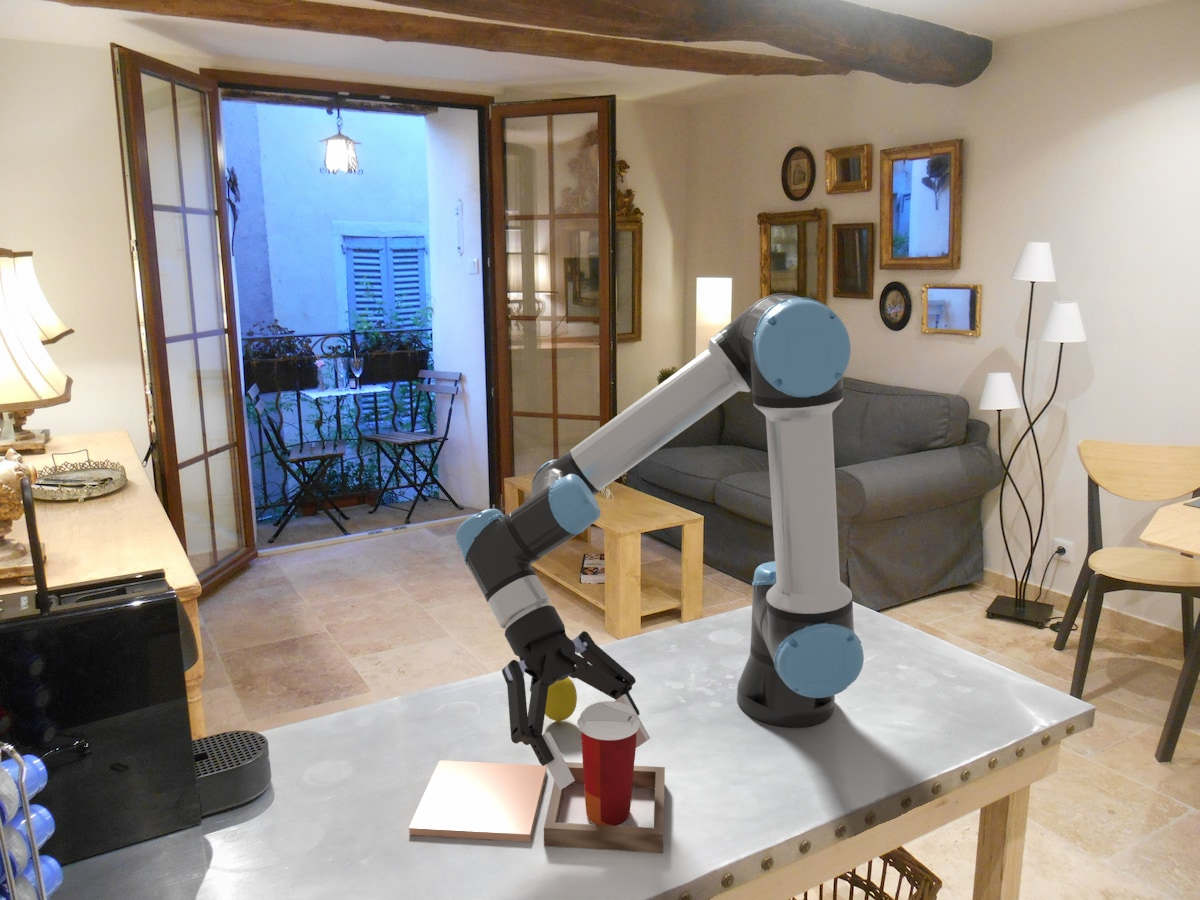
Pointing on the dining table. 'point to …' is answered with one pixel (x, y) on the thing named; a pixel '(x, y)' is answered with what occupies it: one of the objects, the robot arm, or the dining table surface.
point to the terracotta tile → (480, 801)
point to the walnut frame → (606, 834)
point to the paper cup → (608, 760)
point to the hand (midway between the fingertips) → (606, 763)
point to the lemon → (561, 700)
